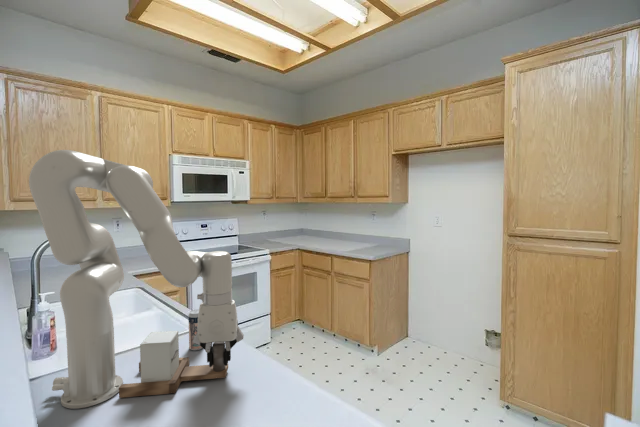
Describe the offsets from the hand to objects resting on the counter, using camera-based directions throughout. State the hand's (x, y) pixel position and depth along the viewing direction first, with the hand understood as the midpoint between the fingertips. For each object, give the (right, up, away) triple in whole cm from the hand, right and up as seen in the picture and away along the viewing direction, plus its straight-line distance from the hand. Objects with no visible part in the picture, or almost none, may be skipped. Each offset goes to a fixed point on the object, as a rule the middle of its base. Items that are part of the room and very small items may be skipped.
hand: (219, 363), depth 87 cm
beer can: (-13, -3, +17) cm, 21 cm away
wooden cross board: (-10, -4, -1) cm, 11 cm away
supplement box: (-14, -4, -3) cm, 15 cm away
